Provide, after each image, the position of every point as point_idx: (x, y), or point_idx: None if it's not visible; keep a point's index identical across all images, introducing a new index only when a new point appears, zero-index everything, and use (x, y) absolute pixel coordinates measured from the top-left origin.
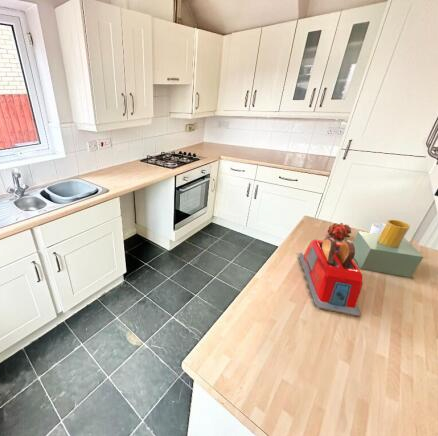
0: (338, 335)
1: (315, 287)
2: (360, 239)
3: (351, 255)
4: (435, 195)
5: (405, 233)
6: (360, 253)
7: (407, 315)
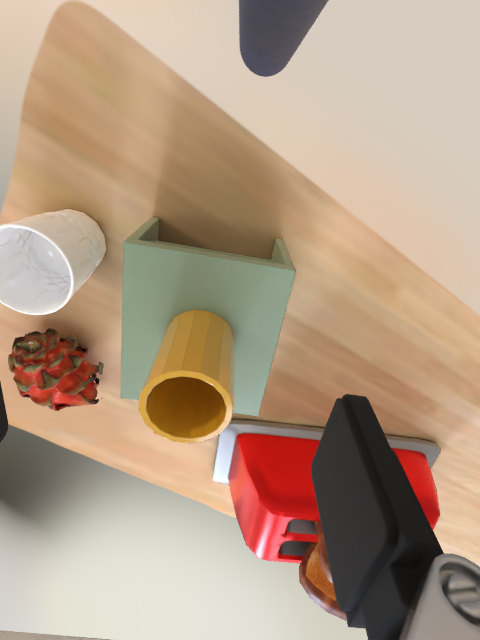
0: (473, 485)
1: None
2: None
3: None
4: (2, 432)
5: (226, 366)
6: None
7: (440, 349)
